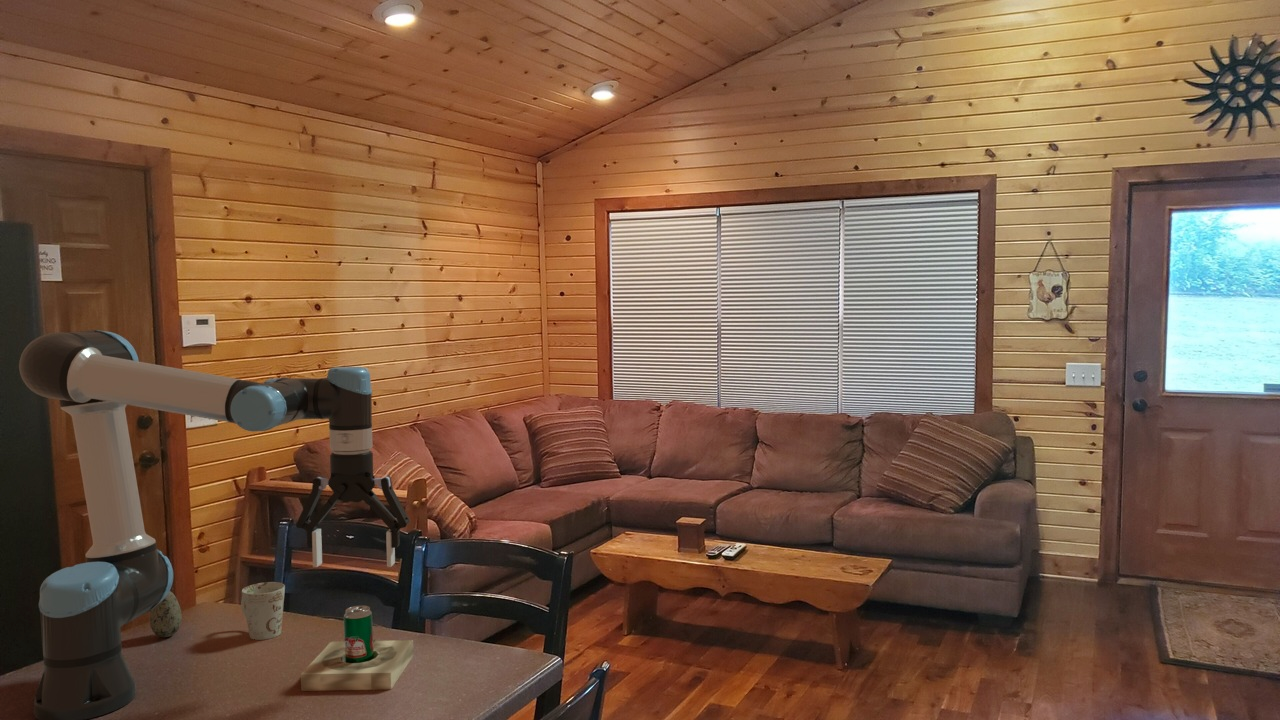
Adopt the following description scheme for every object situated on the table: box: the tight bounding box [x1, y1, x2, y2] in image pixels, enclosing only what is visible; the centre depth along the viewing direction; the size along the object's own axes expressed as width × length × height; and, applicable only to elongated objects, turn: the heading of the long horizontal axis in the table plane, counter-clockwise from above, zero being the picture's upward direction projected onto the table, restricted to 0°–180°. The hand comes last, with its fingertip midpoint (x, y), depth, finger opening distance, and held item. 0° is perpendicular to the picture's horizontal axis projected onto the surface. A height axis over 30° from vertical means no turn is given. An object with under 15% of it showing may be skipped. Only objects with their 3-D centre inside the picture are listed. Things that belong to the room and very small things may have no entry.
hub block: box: [300, 639, 415, 692], centre depth 173 cm, size 16×16×3 cm
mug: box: [240, 581, 286, 641], centre depth 195 cm, size 8×13×10 cm, turn 57°
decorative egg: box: [149, 590, 183, 638], centre depth 194 cm, size 6×6×10 cm
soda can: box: [343, 605, 374, 663], centre depth 173 cm, size 5×5×12 cm
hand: (354, 565), depth 172 cm, fingers open, 13 cm apart
